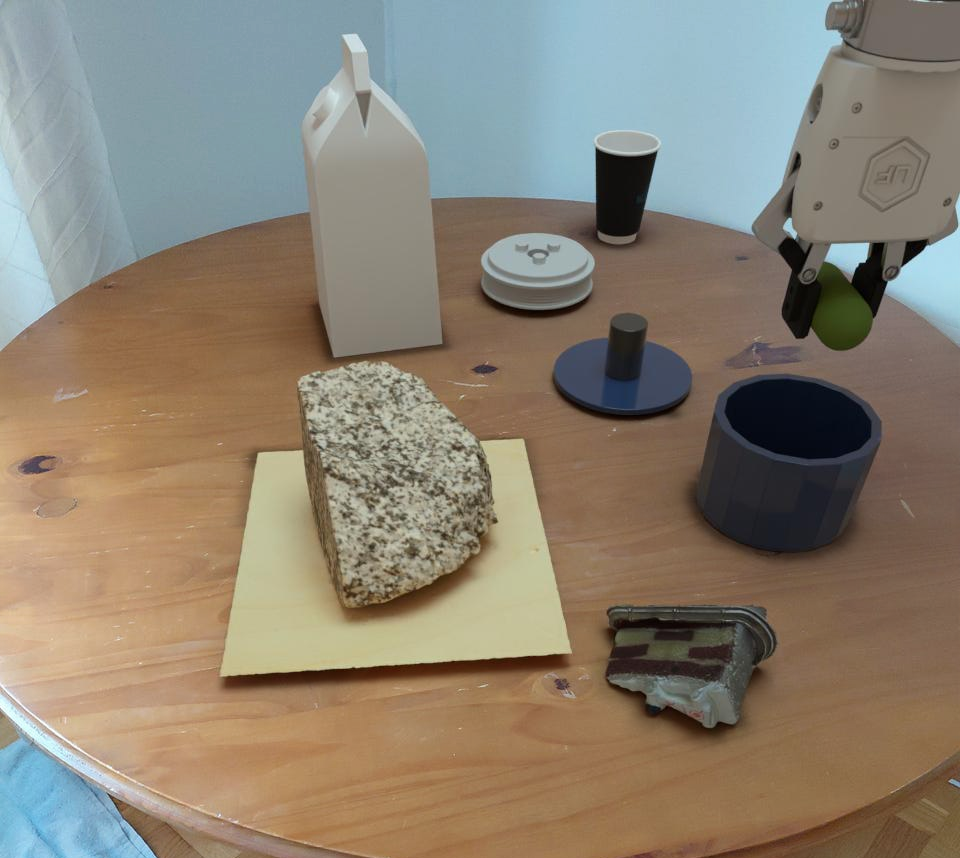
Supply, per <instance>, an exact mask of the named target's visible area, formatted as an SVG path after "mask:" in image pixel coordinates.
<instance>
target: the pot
mask: <svg viewBox="0 0 960 858" xmlns="http://www.w3.org/2000/svg"><path fill="white" fill-rule="evenodd" d="M882 436H883V421H882V420H881V418H880V417H879V415H878V414H877V412H876V411H875V409H874V407H873V406H872V405H871V404H870V403H869V402H867V401H866V400H865V399H863V398H861V397H860V396H859V395H857V394H855V393H854V392H852V390H850V389H848V388H847V387H843V386H840V385H838V384H835V383H832V382H829V381H827V380H824V379H822V378H817V377H811V376H805V375H798V374H793V373H767V374H758V375H753V376H750V377H746V378H744V379H741V380H737V381H734V382H732V383H731V384H729V386H727V387H726V388H724V390H722V392H720V393H719V394H718V395H717V398H716V402H715V406H714V410H713V414H712V418H711V424H710V428H709V432H708V436H707V441H706V445H705V451H704V454H703V459H702V464H701V468H700V471H699V477H698V481H697V486H696V490H695V495H696V496H695V497H696V503H697V506H698V509H699V510H700V512H701V514H702V515H703V517H704V518H705V520H707V521H708V523H710V525H711V526H712V527H713V528H715V529H716V531H717V530H718V532H720V533H722V534H723V535H725V536H726V537H729V538H730V539H732V540H734V541H737V542H738V543H741V544H744V545H746V546H750V547H752V548H756V549H760V550H765V551H771V552H778V553H779V552H780V553H797V552H805V551H806V552H807V551H811V550H816V549H818V548H822V547H824V546H826V545H829V544H830V543H832V542H833V541H835V540H837V539H838V538H839V537H840V536H841V535H842V534H843V532H844V531H845V529H846V527H847V525H849V523H850V522H851V520H852V517H853V514H854V512H855V509H856V507H857V504H858V501H859V499H860V497H861V493H862V491H863V489H864V486H865V484H866V481H867V479H868V476H869V474H870V471H871V468H872V466H873V463H874V461H875V459H876V456H877V453H878V450H879V447H880V446H881V443H882V438H883V437H882Z"/></svg>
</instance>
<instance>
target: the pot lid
mask: <svg viewBox="0 0 960 858" xmlns="http://www.w3.org/2000/svg"><path fill="white" fill-rule="evenodd" d="M608 327H609V328H608V335H607V337H599V338H592V339H588V340H585V341H582V342H578V343H576V344H573V345H571V346H570V347H568V348H567V349H565V350H564V351H562V352H561V353H560V355H559V356H558V357H557V358H556V360H555V362H554V365H553V380H554V383H555V385H556V387H557V388H558V390H559V391H560V392H561V393H562V394H563V395H564V396H565V397H567V398H568V399H569V400H571V401H573V402H574V403H576V404H578V405H580V406H582V407H584V408H587V409H590V410H593V411H597V412H600V413H605V414H610V415H621V416H639V415H647V414H648V415H649V414H654V413H658V412H661V411H665V410H668V409H670V408H672V407H674V406H676V405H677V404H679V403H681V402H682V401H683V400H684V399H685V398H686V397H687V395H688V394H689V393H690V390H691V388H692V384H693V372H692V369H691V367H690V365H689V364H688V363H687V361H686V360H685V359H684V358H682V356H680V355H679V354H678V353H676V352H675V351H673V350H671V349H669V348H668V347H665V346H663V345H661V344H658V343H655V342H651V341H648V340H647V338H648V337H647V336H648V329H649V320H648V319H647V318H646V317H644V316H643V315H641V314H638V313H633V312H621V313H618V314H615V315H613V316H612V317H611V318H610V320H609V326H608Z"/></svg>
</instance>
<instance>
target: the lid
mask: <svg viewBox="0 0 960 858" xmlns="http://www.w3.org/2000/svg"><path fill="white" fill-rule="evenodd" d="M480 263H481V265H480V266H481V268H482V270H483V274H482V276H481V280H480V284H481V288H482V291H483V292H484V293H485V294H486V295H487V296H488V297H489V298H491V299H492V300H494V301H496V302H497V303H500V304H503V305H505V306H509V307H511V308H517V309H522V310H532V311H545V310H556V309H562V308H567V307H569V306H573V305H575V304H578V303H580V302H581V301H583V300H584V299H586V298H587V297H588V296H590V294H591V292H592V290H593V285H594V282H593V279H592V274H593V272H594V270H595V263H596V261H595V258H594V256H593V255H592V253H591V252H590V251H588V250H587V249H586V248H585V247H584V246H583V245H582V244H581V243H579V242H578V241H576V240H575V239H571V238H568V237H567V236H563V235H559V234H552V233H546V232H545V233H543V232H542V233H541V232H532V233H531V232H530V233H529V232H527V233H519V234H514V235H511V236H507V237H505V238H504V237H503V238H502V239H500V240H498V241H496V242H495V243H494V244H493V245H491V246H490V247H488V248H486V250H485V251H484V252H483V254H482V256H481V260H480Z"/></svg>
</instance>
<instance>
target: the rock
mask: <svg viewBox="0 0 960 858" xmlns="http://www.w3.org/2000/svg"><path fill="white" fill-rule="evenodd" d="M296 392H297V394H296V395H297V401H298V407H299V419H300V425H301V441H302V449H299V450H284V451H283V450H277V451H263V452H261V451H260V452H257V457H256V463H255V466H254V470H253V471H254V472H253V480H252V485H251V491H250V498H249V501H248V510H247V514H246V519H245V520H246V522H245V527H244V530H243V533H244V534H243V536H242V544H241V551H240V557H239V564H238V565H239V566H238V567H237V570H238V571H237V575H236V579H235V584H234V590H233V592H234V593H233V599H232V602H231V608H230V613H229V620H228V627H227V629H226V633H227V635H226V637H225V640H224V645H225V647H224V651H223V655H222V659H223V660H222V663H221V667H220V670H219V677H228V676H230V677H236V676H239V675H241V676H247V675H255V674H258V675H263V674H265V675H266V674H272V673H273V674H275V673H284V674H286V673H294V672H299V673H300V672H303V671H304V672H306V671H325V670H328V671H329V670H333V669H334V670H337V669H339V670H340V669H341V670H342V669H345V670H346V669H352V668H355V669H360V668H372V667H379V666H385V667H386V666H396V665H397V666H401V665H403V666H404V665H415V664H416V665H418V664H419V665H420V664H434V663H435V664H436V663H443V662H445V663H446V662H452V661H455V662H458V661H459V662H460V661H477V660H490V659H505V658H519V657H520V658H522V657H528V656H530V657H533V656H536V657H540V656H548V655H555V654H556V655H562V654H563V655H564V654H567V655H568V654H573V652H572V649H571V648H572V647H571V646H570V645H571V641H570V640H569V636H568V630H567V626H566V624H567V623H566V621H565V619H564V618H565V616H564V614H563V613H564V612H563V611H564V610H563V609H562V601H561V597H560V593H559V589H558V585H557V581H556V573H555V572H554V568H553V566H554V565H553V562H552V561H551V560H552V557H551V555H550V554H551V553H550V552H549V551H550V550H549V545H548V541H547V535H546V530H545V526H544V522H543V519H542V513H541V509H539V502H538V501H539V500H538V496H537V493H536V487H535V483H534V478H533V473H532V469H531V466H530V461H529V458H528V452H527V447H526V442H525V440H524V438H523V437H522V438H512V439H511V438H510V439H505V438H504V439H492V440H491V439H490V440H479V439H478V438H477V437H476V436H475V435H474V434H473V433H472V432H471V430H470V429H469V428H468V427H467V426H466V425H465V424H464V422H462V421H461V420H460V419H459V418H458V417H457V416H456V415H455V414H454V413H453V411H451V410H450V409H449V408H448V407H447V406H446V404H444V403H443V402H441V401H439V400H438V399H437V395H436V394H434V393H433V389H432V388H430V387H429V385H428V384H427V383H426V381H425V380H424V379H423V378H422V377H420V376H419V375H417V374H414V373H413V372H409V371H403V370H401V369H400V368H398V367H394V366H393V365H392V363H391V362H387V361H376V362H372V361H369V360H364V361H357V362H352V363H350V364H346V366H345V365H342V366H340V367H337V368H334V369H333V368H332V369H328V370H325V371H321V370H318V371H314V372H311V373H309V374H306V375H303V376H302V375H301V376H300V378H298V379H297V381H296Z"/></svg>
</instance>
